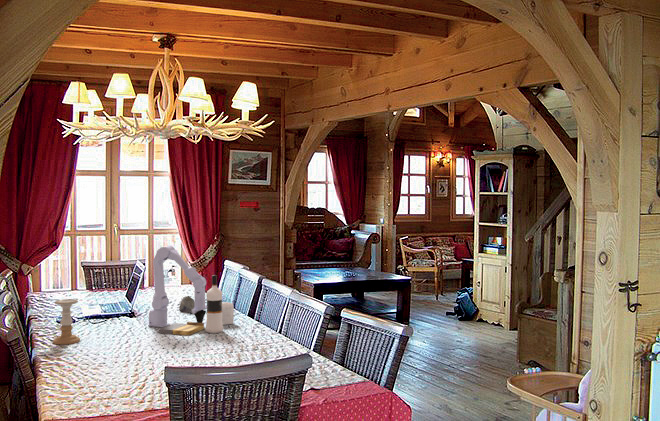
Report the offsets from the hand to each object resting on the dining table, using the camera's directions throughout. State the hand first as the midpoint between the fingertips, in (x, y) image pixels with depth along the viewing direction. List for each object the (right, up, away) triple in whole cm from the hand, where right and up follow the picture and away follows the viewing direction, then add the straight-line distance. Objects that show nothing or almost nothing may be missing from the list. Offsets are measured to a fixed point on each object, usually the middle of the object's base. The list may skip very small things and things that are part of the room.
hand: (199, 324), depth 343 cm
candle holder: (-58, -2, -36) cm, 68 cm away
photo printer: (+13, -2, +7) cm, 14 cm away
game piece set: (+33, -4, -56) cm, 65 cm away
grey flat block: (-12, -2, -9) cm, 15 cm away
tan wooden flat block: (-3, -2, -11) cm, 12 cm away
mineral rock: (-15, 0, +41) cm, 43 cm away
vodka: (+10, -2, -11) cm, 15 cm away
